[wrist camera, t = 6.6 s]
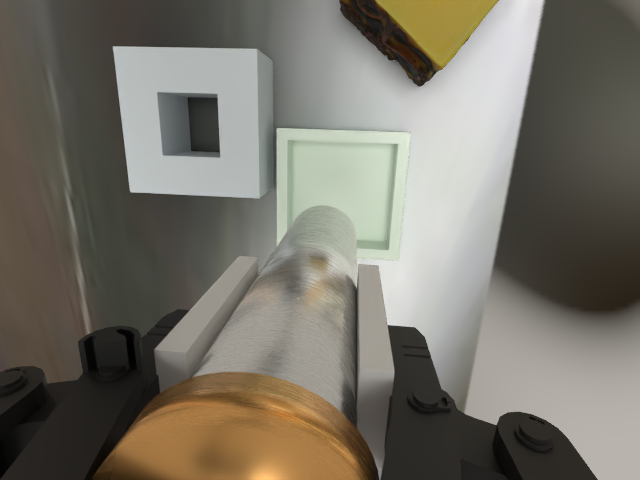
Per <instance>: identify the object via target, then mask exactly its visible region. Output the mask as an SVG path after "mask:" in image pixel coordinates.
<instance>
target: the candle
mask: <svg viewBox="0 0 640 480" xmlns="http://www.w3.org/2000/svg"><path fill="white" fill-rule="evenodd" d="M339 1H340V4H341V9H340V10H341V11H342V13H343V15H344V16H345V17H346V18H347V19H348V20H349V21H350V22H352V23H353V24H354V25H355V26H356V27H357V28H358V29H359V30H360V31H361V33H362V34H363V35H364V36H366V38H367V39H368V40H369V41H370V42H371V43H373V44H374V45H375V46H376V47H377V48H378V50H380V51H381V52H382V53H383V54H384V55H388V59H389V60H397V61H399V63H400V64H401V66H402V67H403V68H404V69H405V70H406V72H407V74H408V76H409V78H410V79H412V80H413V82H414V83H416V84H417V85H418V86H422V85H424V83H425V82H427V81H429V80H430V79H431V78H432V77H433V76H434V74H435V73H436V72H438V71H439V70H442V69H443V67H444V66H446V64H447V63H448V62H449V61H450V60H451V59H452V58H453V57H454V55H455V54H456V53H457V51H458V50H459V49H460V47H461V46H462V45H463V44H464V43H465V42H466V41H467V40H468V39H469V37H470V35H471V34H472V33H473V31H474V30H475V29H476V28H477V26H478V25H479V24H480V22H481V21H482V20H483V18H484V17H485V16H486V15H487V14H488V12H489V11H490V10H491V9H492V8H493V6H494V5H495V4H496V3H497V2H498V0H339Z"/></svg>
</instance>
